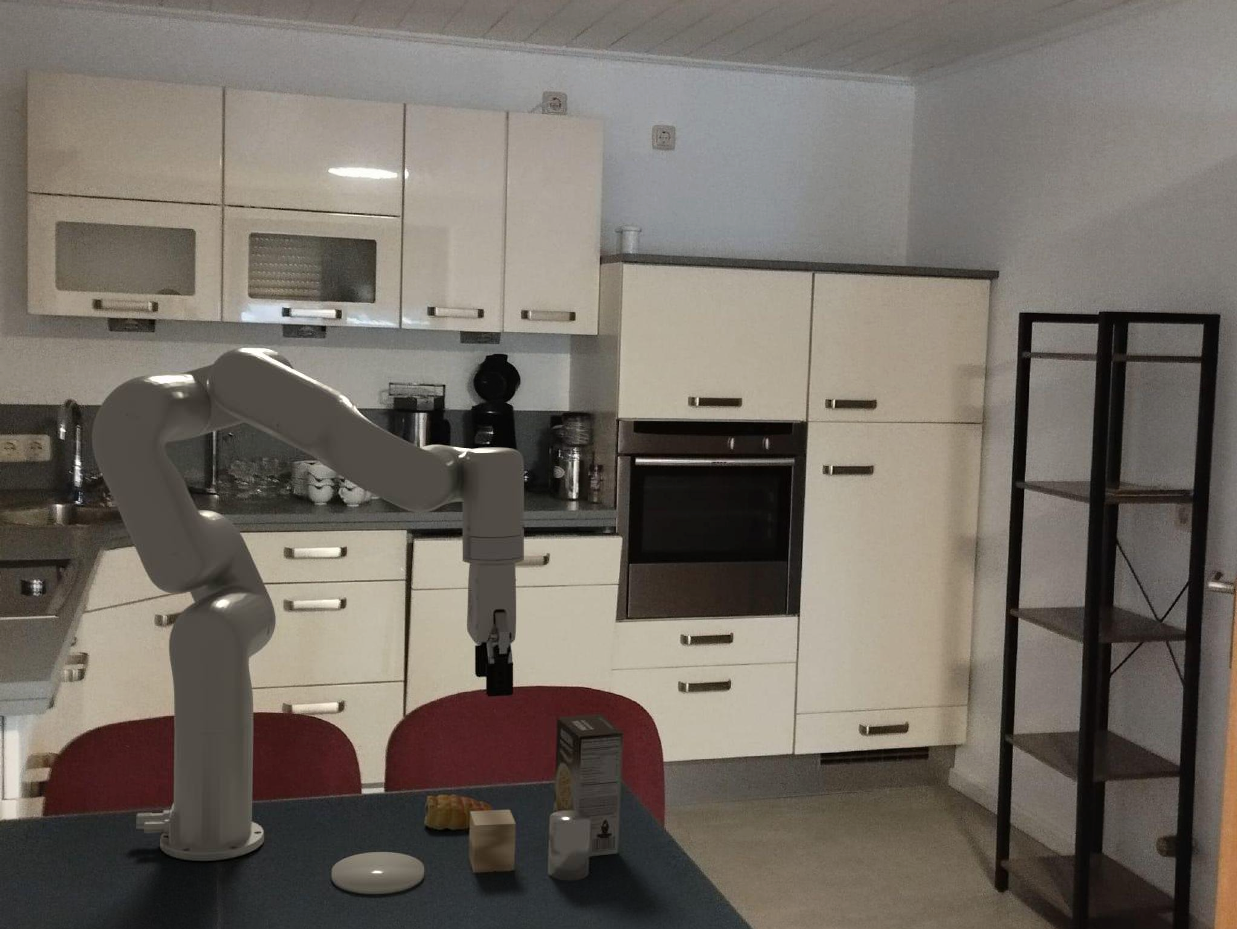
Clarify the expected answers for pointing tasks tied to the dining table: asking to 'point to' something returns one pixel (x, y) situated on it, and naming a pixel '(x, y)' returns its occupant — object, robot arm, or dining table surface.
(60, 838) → the dining table surface
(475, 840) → the block
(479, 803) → the pastry
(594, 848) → the coffee box
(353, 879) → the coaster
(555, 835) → the tin
